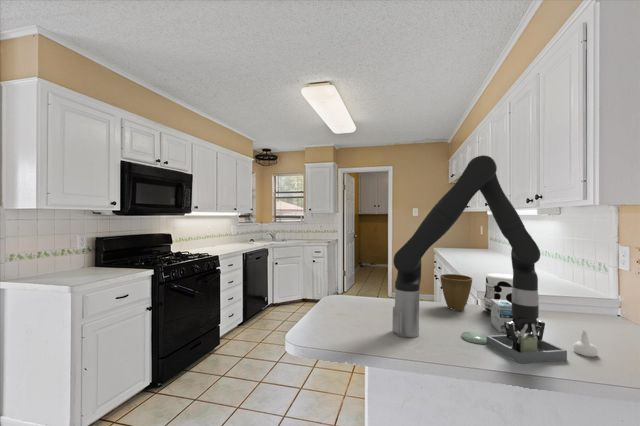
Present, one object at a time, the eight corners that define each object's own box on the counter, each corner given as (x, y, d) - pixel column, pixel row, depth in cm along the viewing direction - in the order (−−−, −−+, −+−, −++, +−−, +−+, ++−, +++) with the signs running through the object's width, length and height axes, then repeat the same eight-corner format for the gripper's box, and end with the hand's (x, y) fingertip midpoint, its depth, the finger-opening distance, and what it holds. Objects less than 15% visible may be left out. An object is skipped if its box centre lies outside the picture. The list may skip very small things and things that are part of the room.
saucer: (473, 344, 110) (473, 342, 110) (456, 334, 120) (456, 332, 120) (497, 343, 112) (497, 341, 112) (479, 333, 121) (479, 331, 121)
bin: (519, 363, 96) (519, 353, 96) (486, 344, 111) (486, 335, 111) (566, 359, 99) (566, 350, 99) (528, 341, 114) (528, 333, 114)
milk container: (528, 314, 148) (528, 276, 148) (522, 323, 135) (522, 281, 135) (488, 306, 159) (488, 271, 159) (479, 314, 146) (479, 276, 146)
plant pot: (437, 303, 163) (437, 273, 163) (467, 305, 160) (467, 274, 160) (442, 311, 149) (443, 278, 149) (475, 314, 146) (476, 280, 146)
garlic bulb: (597, 355, 105) (597, 331, 105) (597, 359, 100) (597, 334, 101) (573, 349, 109) (573, 326, 110) (572, 353, 104) (573, 329, 105)
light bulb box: (517, 334, 121) (518, 306, 122) (499, 332, 123) (499, 305, 123) (507, 324, 132) (507, 299, 132) (490, 323, 133) (490, 298, 133)
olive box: (523, 358, 100) (523, 340, 100) (511, 351, 105) (511, 334, 105) (537, 357, 101) (537, 339, 101) (524, 351, 106) (524, 333, 106)
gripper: (515, 305, 98) (514, 359, 98) (553, 304, 100) (553, 356, 100) (497, 299, 105) (497, 349, 105) (533, 298, 108) (533, 347, 108)
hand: (524, 352), depth 103 cm, fingers closed on olive box, 5 cm apart
